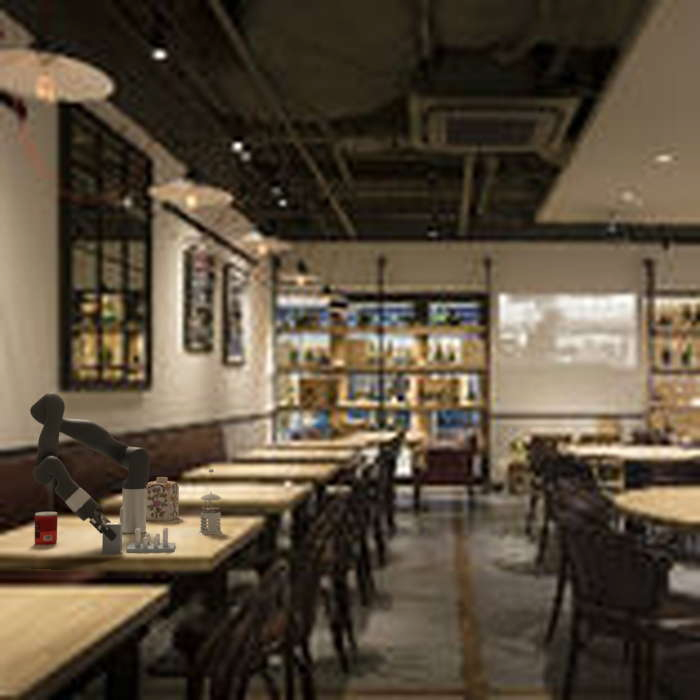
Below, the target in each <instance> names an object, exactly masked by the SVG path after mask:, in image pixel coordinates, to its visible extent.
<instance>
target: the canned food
mask: <svg viewBox="0 0 700 700" xmlns="http://www.w3.org/2000/svg"><path fill="white" fill-rule="evenodd" d="M57 542H58V512H57V511H40V512H35V514H34V544H35V545H37V546H50V545H51V546H52V545H55V544H57Z"/></svg>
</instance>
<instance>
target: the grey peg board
mask: <svg viewBox="0 0 700 700" xmlns="http://www.w3.org/2000/svg"><path fill="white" fill-rule="evenodd" d="M141 534H142V533H141V528H136V529H135V534H134V542H130V543H129V544H128V546H127V548H126V553H170V552H171V553H172V552H173V551H174V552H175V549H174V548H176V542H169V527H166V526H165V527H163V529H162V542H161V533H155V536H154V537H153V542H150V541H151V539H150V537H151V536H150V535H151V534H150V533H145V534H144V537H143V538H142V537H141ZM141 538H142V542H141ZM174 552H173V553H174Z"/></svg>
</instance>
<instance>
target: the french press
mask: <svg viewBox="0 0 700 700" xmlns="http://www.w3.org/2000/svg"><path fill="white" fill-rule="evenodd" d="M208 473H210V477H212V476H213V475H212V473H215V471H214V469H211V468H210V469H209V470H208ZM200 499H201V500H203V506H202V507H201V510H202V511H201V512H200V530H199V531H198V532H199V533H202V534H218V535H221V534H220V533H222V534H223V533H224V532H223V531H222V530H221V527H222V526H221V522H222V521H221V518H222V517H221V515H222V513H221V511H219V510H221V508H220V507H219V506H218V507H217V506H212V503H211V501H219V500H222V497H221V496H219V495H218V494H215V493H212V492H210V493H208V494H204V495H202V496H201V497H200ZM205 504H206V506H205ZM209 504H210V506H209Z"/></svg>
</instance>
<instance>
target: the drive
mask: <svg viewBox="0 0 700 700" xmlns="http://www.w3.org/2000/svg"><path fill="white" fill-rule="evenodd" d="M106 526H107V527H108V530H110V531H111V532H112V533H113V534H114V535H115V536H116V538H115V539H114V540H113V541H110V540H109V539H108V538H107V537H106V536H105V535H104V534H102V543H101V544H102V545H101V546H102V551H101V552H102V553H101V554H102V555H120V554H122V552H123V533H122V523H120V522H111V523H106ZM121 551H122V552H121Z"/></svg>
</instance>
